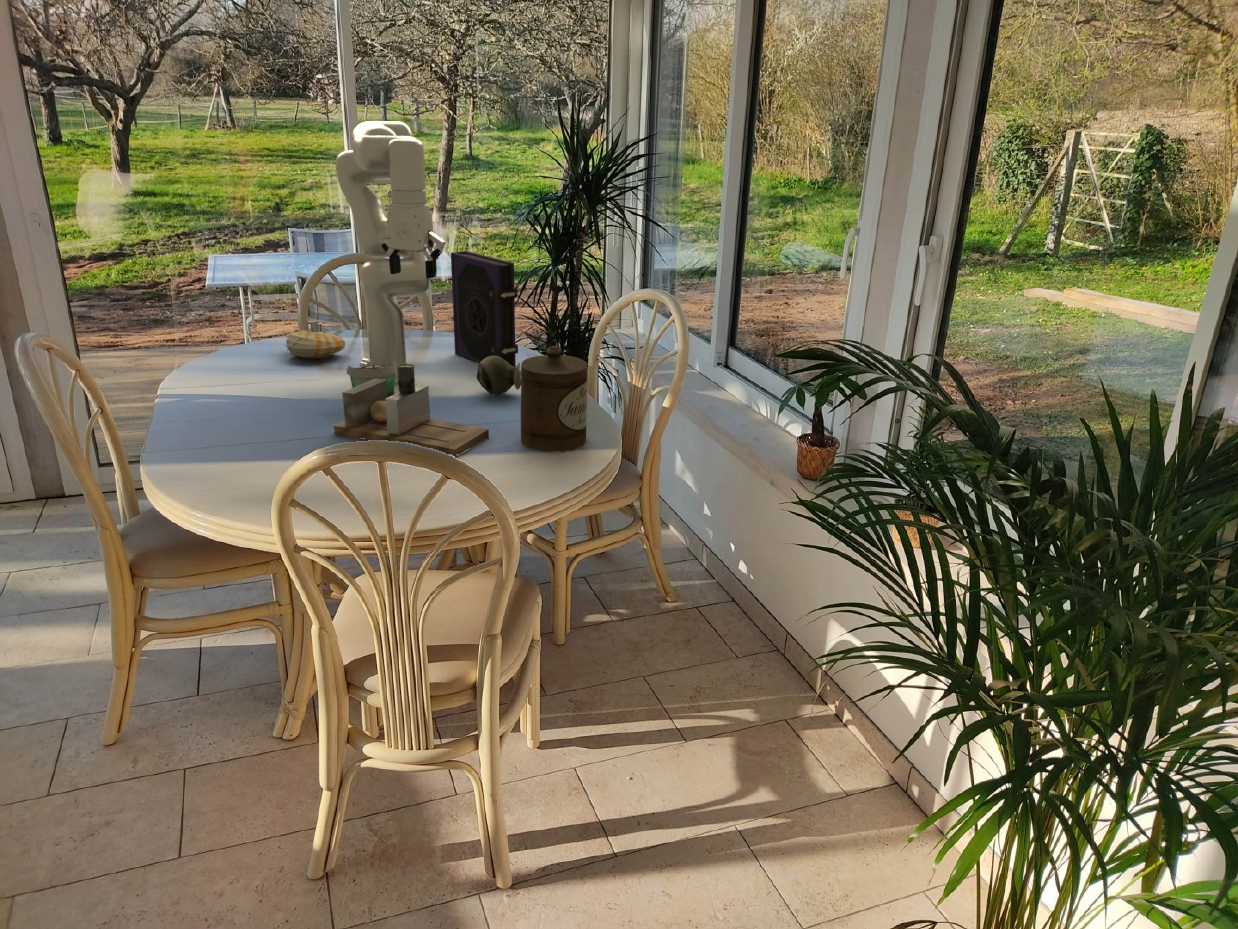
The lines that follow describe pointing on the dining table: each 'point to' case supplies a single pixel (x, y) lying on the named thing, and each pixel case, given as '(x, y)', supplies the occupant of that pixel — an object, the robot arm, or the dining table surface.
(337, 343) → the nautilus
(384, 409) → the walnut
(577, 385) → the wooden container
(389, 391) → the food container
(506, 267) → the book
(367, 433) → the base
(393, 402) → the sliding jaw
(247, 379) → the dining table surface
